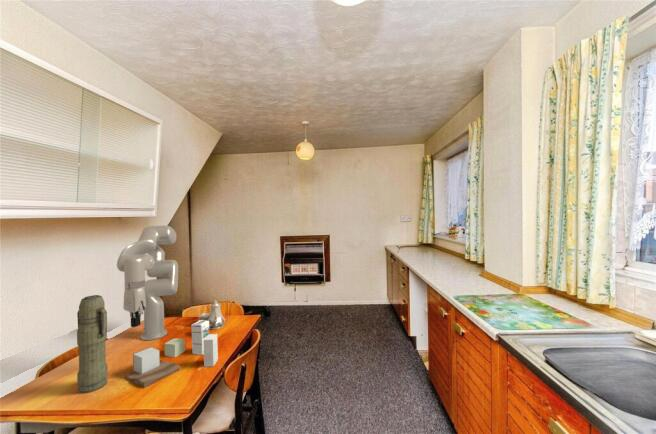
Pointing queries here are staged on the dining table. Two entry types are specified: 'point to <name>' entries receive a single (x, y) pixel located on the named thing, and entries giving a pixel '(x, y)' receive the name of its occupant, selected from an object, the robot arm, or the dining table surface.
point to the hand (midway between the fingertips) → (135, 325)
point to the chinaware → (214, 316)
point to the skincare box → (210, 350)
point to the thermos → (92, 344)
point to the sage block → (174, 347)
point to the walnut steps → (153, 374)
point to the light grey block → (145, 360)
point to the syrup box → (199, 336)
